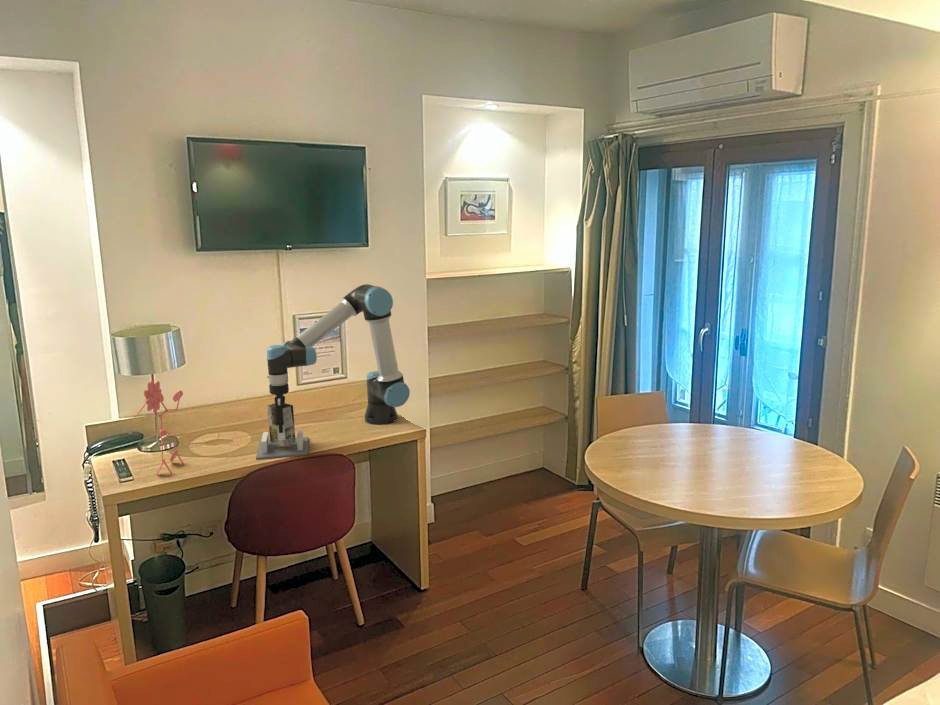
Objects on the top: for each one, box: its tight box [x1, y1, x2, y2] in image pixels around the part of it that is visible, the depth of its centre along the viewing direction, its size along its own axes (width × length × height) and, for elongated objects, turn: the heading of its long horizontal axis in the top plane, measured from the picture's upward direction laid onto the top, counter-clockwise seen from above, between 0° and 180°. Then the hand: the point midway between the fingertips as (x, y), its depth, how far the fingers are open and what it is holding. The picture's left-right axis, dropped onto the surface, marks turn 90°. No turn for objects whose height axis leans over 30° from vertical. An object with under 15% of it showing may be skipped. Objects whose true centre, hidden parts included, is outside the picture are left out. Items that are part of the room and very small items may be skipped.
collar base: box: [255, 428, 309, 460], centre depth 282 cm, size 20×20×6 cm
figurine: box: [134, 379, 191, 475], centre depth 259 cm, size 15×26×35 cm, turn 175°
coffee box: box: [266, 402, 296, 446], centre depth 281 cm, size 9×6×16 cm
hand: (282, 435), depth 282 cm, fingers closed on coffee box, 11 cm apart
